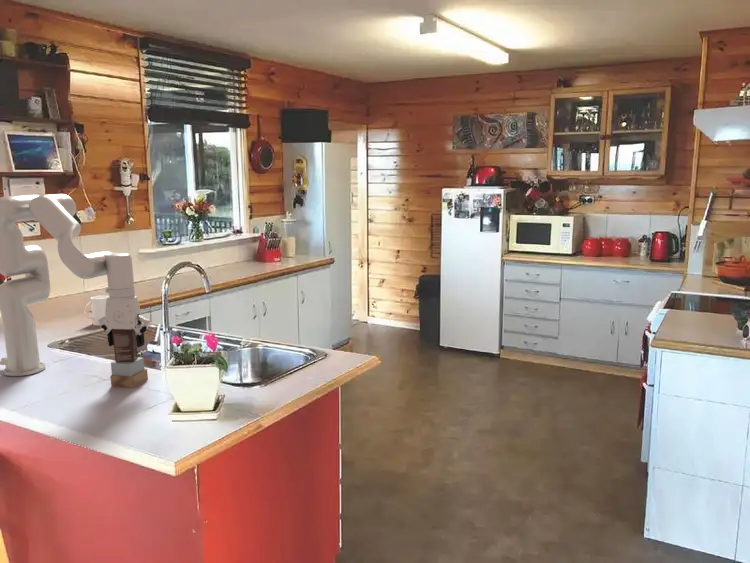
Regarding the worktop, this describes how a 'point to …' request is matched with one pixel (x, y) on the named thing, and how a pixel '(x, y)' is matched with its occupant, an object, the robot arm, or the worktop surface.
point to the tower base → (129, 380)
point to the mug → (97, 308)
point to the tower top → (127, 367)
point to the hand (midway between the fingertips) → (126, 345)
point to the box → (125, 345)
